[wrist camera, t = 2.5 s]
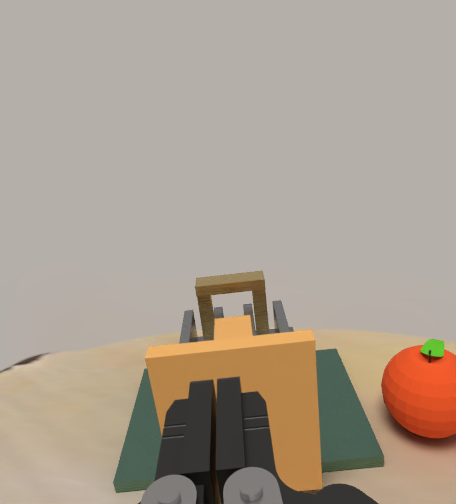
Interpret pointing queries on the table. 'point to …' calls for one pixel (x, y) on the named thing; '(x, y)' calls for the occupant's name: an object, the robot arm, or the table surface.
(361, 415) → the heat sink mount
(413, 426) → the clementine
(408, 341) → the table surface
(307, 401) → the wooden stand
